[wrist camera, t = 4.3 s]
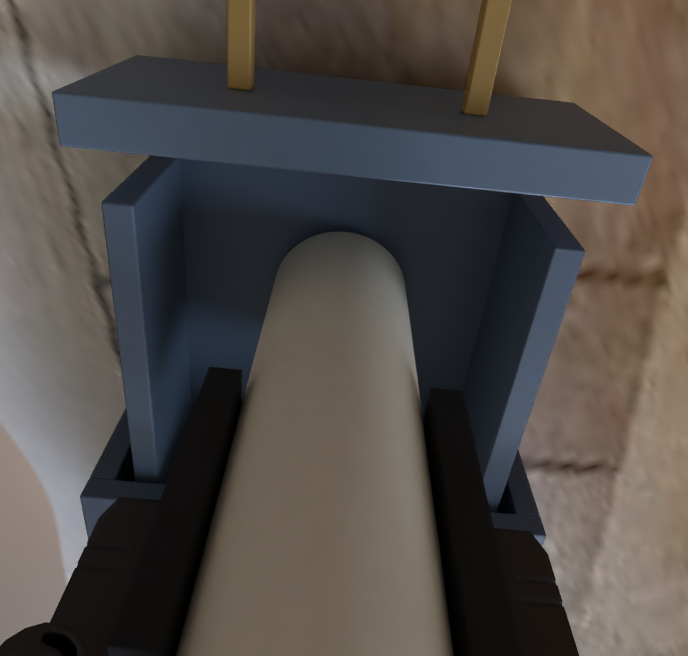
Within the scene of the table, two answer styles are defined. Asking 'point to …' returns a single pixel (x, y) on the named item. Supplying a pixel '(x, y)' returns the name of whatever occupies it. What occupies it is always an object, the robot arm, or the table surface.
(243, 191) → the drawer
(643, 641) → the table surface
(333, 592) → the candle
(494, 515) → the cabinet
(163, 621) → the robot arm
